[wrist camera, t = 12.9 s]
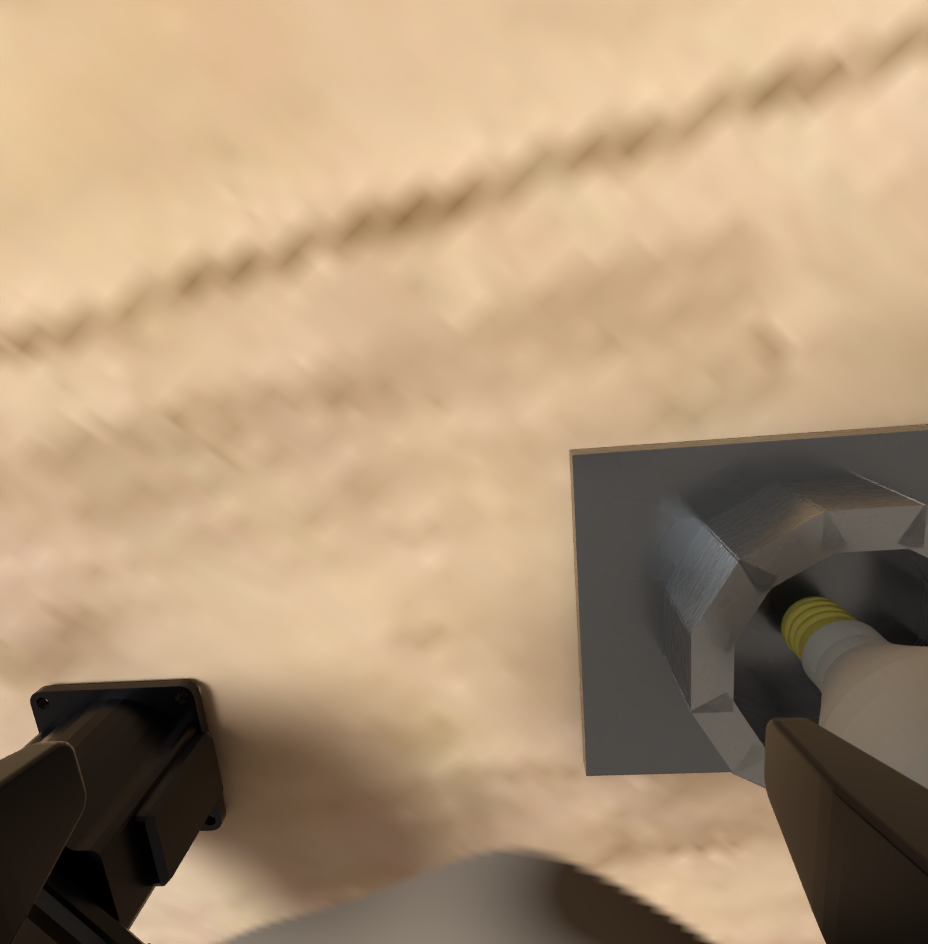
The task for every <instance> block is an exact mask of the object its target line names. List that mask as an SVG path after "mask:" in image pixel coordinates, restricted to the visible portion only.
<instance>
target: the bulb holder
mask: <svg viewBox="0 0 928 944" xmlns="http://www.w3.org/2000/svg"><path fill="white" fill-rule="evenodd" d="M569 451H570V473H571V495H572V517H573V539H574V561H575V583H576V605H577V627H578V649H579V671H580V693H581V715H582V737H583V758H584V765H585V771H586V776H601V775H638V774H674V773H711V772H732V773H733V774H734V775H737V776H739V777H742V778H744V779H746V780H748V781H750V782H753V783H755V784H757V785H759V786H762V787H764V788H766V787H765V780H764V762H765V739H766V727H767V724H768V721H769V720H771V719H772V718H776V717H805V718H807V719H809V720H811V721H813V722H815V723H816V724H818V725H819V718H820V711H821V698H822V694H821V692H820V690H819V688H818V687H817V686H816V685H815V684H814V683H813V681H812V680H811V679H810V678H809V677H808V676H807V674H806V673H805V671H804V668H803V665H802V661H801V660H800V659H799V658H798V656H797V655H796V654H795V653H794V652H793V651H792V650H791V649H790V648H789V647H788V646H787V644H786V643H785V641H784V639H783V637H782V632H781V622H782V619H783V616H784V614H785V612H786V611H787V609H788V608H789V607H790V606H791V605H792V604H793V603H795V602H796V601H798V600H800V599H802V598H805V597H812V596H818V597H824V598H828V599H831V600H833V601H834V602H836V603H837V604H838V605H840V606H841V607H843V608H844V609H845V610H846V611H847V612H848V613H850V614H851V615H852V616H853V617H854V618H855V619H856V620H858V621H859V622H863V623H865V624H867V625H869V626H871V627H872V628H873V629H875V630H876V631H877V632H878V633H879V634H880V635H881V636H882V637H883V638H884V639H885V640H887V641H888V642H890V643H892V644H897V645H906V646H926V647H928V424H924V425H910V426H896V427H882V428H868V429H854V430H840V431H826V432H812V433H798V434H784V435H770V436H756V437H742V438H728V439H714V440H700V441H686V442H672V443H658V444H644V445H630V446H616V447H602V448H588V449H574V450H569Z"/></svg>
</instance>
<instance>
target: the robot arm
mask: <svg viewBox="0 0 928 944" xmlns="http://www.w3.org/2000/svg"><path fill="white" fill-rule="evenodd" d="M181 692H184V693H185V694H186V695H187V697H184V696H183V695H182V694H181ZM46 700H48V701H46ZM30 703H31V707H32V710H33V714H34V717H35V720H36V724H37V727H38V730H39V734H38V735H37V736H36V737H35V738H34V739H32V740H31V741H30V742H29V743H28V744H27V745H26V746H25V747H24V748H22V749H21V750H19V751H17V752H15V753H13V754H11V755H9V756H7V757H5V758H3V759H1V760H0V944H144V943H143V942H142V941H141V940H140V939H139V938H137V937H136V936H135V935H134V934H133V933H132V932H130V931H129V929H130V927H131V926H132V924H133V922H134V921H135V919H136V917H137V916H138V914H139V913H140V911H141V909H142V908H143V906H144V904H145V903H146V901H147V899H148V898H149V896H150V895H151V893H152V891H153V890H154V888H155V886H165V885H166V884H167V883H168V881H169V880H170V879H171V878H172V877H173V875H174V873H175V872H176V870H177V868H178V867H179V865H180V863H181V861H182V860H183V858H184V856H185V855H186V853H187V851H188V850H189V848H190V846H191V845H192V843H193V841H194V839H195V838H196V836H197V834H198V833H199V831H209V830H216V829H218V828H219V827H220V826H221V824H222V822H223V820H224V818H225V817H226V809H225V805H224V800H223V795H222V792H223V785H222V781H221V776H220V772H219V767H218V763H217V758H216V754H215V749H214V744H213V740H212V737H211V736H210V734H209V732H208V727H207V723H206V718H205V714H204V709H203V705H202V700H201V696H200V691H199V689H198V687H197V685H196V684H195V683H193V682H191V681H189V680H168V681H145V682H121V683H98V684H75V685H51V686H44V687H42V688H41V689H39V690H38V691H37V692H36V693H34V694H33V695H32V696H31V699H30ZM764 780H765V787H766V791H767V794H768V797H769V800H770V803H771V805H772V808H773V810H774V813H775V816H776V818H777V821H778V823H779V826H780V829H781V831H782V834H783V836H784V839H785V842H786V844H787V847H788V849H789V852H790V854H791V857H792V860H793V862H794V865H795V867H796V870H797V873H798V875H799V878H800V880H801V883H802V886H803V888H804V891H805V893H806V896H807V898H808V901H809V904H810V906H811V909H812V911H813V914H814V916H815V919H816V921H817V923H818V926H819V928H820V931H821V933H822V935H823V938H824V940H825V942H826V944H928V789H927V788H925V787H924V786H922V785H920V784H919V783H917V782H915V781H914V780H912V779H910V778H908V777H907V776H905V775H903V774H902V773H900V772H898V771H896V770H895V769H893V768H891V767H890V766H888V765H886V764H885V763H883V762H881V761H879V760H878V759H876V758H874V757H873V756H871V755H869V754H867V753H866V752H864V751H862V750H861V749H859V748H857V747H856V746H854V745H852V744H850V743H849V742H847V741H845V740H844V739H842V738H840V737H838V736H837V735H835V734H833V733H832V732H830V731H828V730H827V729H825V728H823V727H821V726H820V725H818V724H816V723H815V722H813V721H811V720H809V719H807V718H805V717H776V718H772V719H771V720H769V721H768V724H767V727H766V739H765V762H764ZM210 815H212V816H213V817H212V816H210ZM149 944H150V943H149Z"/></svg>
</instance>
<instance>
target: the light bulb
mask: <svg viewBox="0 0 928 944" xmlns="http://www.w3.org/2000/svg"><path fill="white" fill-rule="evenodd" d="M781 632H782V637H783V639H784V641H785V643H786V644H787V646H788V647H789V648H790V649H791V650H792V651H793V652H794V653H795V654H796V655H797V656H798V658H799V659H800V660H801V661H802V665H803V668H804V671H805V673H806V674H807V676H808V677H809V678H810V679H811V680H812V681H813V683H814V684H815V685H816V686H817V687H818V688H819V690H820V692H821V694H822V698H821V711H820V718H819V725H820V726H821V727H823V728H825V729H827V730H828V731H830V732H832V733H833V734H835V735H837V736H838V737H840V738H842V739H844V740H845V741H847V742H849V743H850V744H852V745H854V746H856V747H857V748H859V749H861V750H862V751H864V752H866V753H867V754H869V755H871V756H873V757H874V758H876V759H878V760H879V761H881V762H883V763H885V764H886V765H888V766H890V767H891V768H893V769H895V770H896V771H898V772H900V773H902V774H903V775H905V776H907V777H908V778H910V779H912V780H914V781H915V782H917V783H919V784H920V785H922V786H924V787H925V788H927V789H928V647H926V646H906V645H897V644H892V643H890V642H888V641H887V640H885V639H884V638H883V637H882V636H881V635H880V634H879V633H878V632H877V631H876V630H875V629H873V628H872V627H871V626H869V625H867V624H865V623H863V622H859V621H858V620H856V619H855V618H854V617H853V616H852V615H851V614H850V613H848V612H847V611H846V610H845V609H844V608H843V607H841V606H840V605H838V604H837V603H836V602H834V601H833V600H831V599H828V598H824V597H818V596H812V597H805V598H802V599H800V600H798V601H796V602H795V603H793V604H792V605H791V606H790V607H789V608H788V609H787V611H786V612H785V614H784V616H783V619H782V622H781Z"/></svg>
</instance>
